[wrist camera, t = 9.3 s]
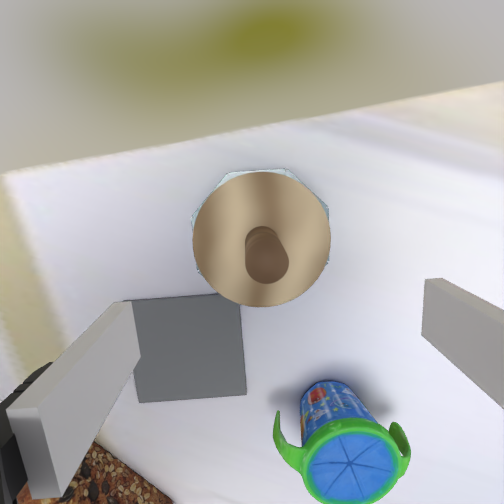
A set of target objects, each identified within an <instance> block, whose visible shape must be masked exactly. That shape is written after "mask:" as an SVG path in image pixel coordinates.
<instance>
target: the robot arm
mask: <svg viewBox="0 0 504 504" xmlns="http://www.w3.org/2000/svg"><path fill="white" fill-rule="evenodd" d="M421 335H422V336H423V337H424V338H425V339H426V340H427V341H428V342H430V343H431V344H432V345H433V346H434V347H435V348H436V349H437V350H438V351H440V352H441V353H442V354H443V355H444V356H445V357H446V358H447V359H448V360H450V361H451V362H452V363H453V364H454V365H455V366H456V367H457V368H458V369H460V370H461V371H462V372H463V373H464V374H465V375H466V376H467V377H468V378H470V379H471V380H472V381H473V382H474V383H475V384H476V385H477V386H478V387H479V388H481V389H482V390H483V391H484V392H485V393H486V394H487V395H488V396H489V397H491V398H492V399H493V400H494V401H495V402H496V403H497V404H498V405H499V406H501V407H502V408H503V409H504V310H502V309H500V308H499V307H497V306H495V305H493V304H491V303H489V302H487V301H485V300H483V299H481V298H479V297H477V296H476V295H474V294H472V293H470V292H468V291H466V290H464V289H462V288H460V287H458V286H456V285H454V284H452V283H451V282H449V281H447V280H445V279H443V278H434V279H425V285H424V300H423V316H422V332H421ZM140 357H141V356H140V350H139V344H138V338H137V332H136V326H135V320H134V315H133V309H132V303H131V301H128V302H115V303H113V304H112V305H111V306H110V307H109V308H108V309H107V310H106V311H105V312H104V313H103V314H102V315H101V316H100V317H99V318H98V319H97V320H96V321H95V322H94V323H93V324H92V325H91V326H90V327H89V328H88V329H87V330H86V331H85V332H84V333H83V334H82V335H81V336H80V337H79V338H78V339H77V340H76V341H75V342H74V343H73V344H72V345H71V346H70V347H69V348H68V349H67V350H66V351H65V352H64V353H63V354H62V355H61V356H60V357H59V358H58V359H57V360H56V361H55V362H49V363H48V364H46V365H44V366H43V367H41V368H39V369H38V370H36V371H34V372H33V373H32V374H31V375H30V376H29V377H28V378H27V379H26V380H25V381H24V382H23V384H20V385H19V386H18V387H17V388H16V389H15V390H14V392H13V393H11V394H10V395H9V396H8V397H7V398H6V399H5V400H4V401H2V402H1V403H0V504H19V503H18V500H17V497H16V496H17V495H18V494H19V492H20V491H21V489H22V488H23V487H24V485H25V484H26V482H27V483H28V486H29V490H30V493H31V496H32V500H33V499H45V498H57V497H62V496H63V494H64V492H65V490H66V489H67V487H68V485H69V483H70V482H71V480H72V478H73V476H74V474H75V473H76V471H77V469H78V467H79V466H80V464H81V462H82V460H83V458H84V457H85V455H86V453H87V451H88V450H89V448H90V446H91V444H92V442H93V441H94V439H95V437H96V435H97V434H98V432H99V430H100V428H101V426H102V425H103V423H104V421H105V419H106V417H107V416H108V414H109V412H110V410H111V409H112V407H113V405H114V403H115V401H116V400H117V398H118V396H119V394H120V393H121V391H122V389H123V387H124V385H125V384H126V382H127V380H128V378H129V377H130V375H131V373H132V371H133V369H134V368H135V366H136V364H137V362H138V361H139V359H140Z"/></svg>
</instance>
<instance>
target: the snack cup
mask: <svg viewBox="0 0 504 504" xmlns="http://www.w3.org/2000/svg"><path fill="white" fill-rule="evenodd" d="M300 416H301V421H300V424H301V440H302V447H296V446H293V445H291V444H288V443H287V442H286V440H285V438H284V436H283V434H282V432H281V430H280V411H279V410H278V411H277V413H276V417H275V422H274V428H273V439H274V442H275V445H276V448H277V449H278V451H279V453H280V454H281V456H282V457H283V459H284V460H285V461H286V462H287V463H288V464H289V465H290V466H291V467H292V468H294V469H295V470H296V471H298V472H299V473H300V474H301V476H302V478H303V481H304V484H305V486H306V488H307V490H308V492H309V493H310V494H311V495H312V496H313V497H314V498H315V499H316V500H318V501H319V502H321V503H323V504H372V503H374V502H376V501H378V500H380V499H381V498H382V497H384V496H385V495H386V494H387V493H388V492H389V491H390V490H391V489H392V488H393V487H394V485H395V484H396V482H397V480H398V479H399V478H400V477H402V476H403V475H404V474H405V471H406V470H407V467H408V465H409V461H410V457H411V449H410V445H409V443H408V440H407V437H406V435H405V433H404V431H403V430H402V428H401V427H400V425H399V424H398V423H396V422H392V423H391V425H390V428H389V432H388V430H387V429H385V428H384V427H383V426H381V425H380V424H378V423H377V421H376V420H375V419H374V418H373V416H372V415H371V414H370V413H369V411H368V410H367V409H366V407H365V406H364V405H363V404H362V402H361V401H360V400H359V399H358V397H357V396H356V395H355V394H354V393H353V392H352V390H351V389H350V388H349V387H348V386H347V385H345V384H344V383H343V384H342V383H338V382H336V381H335V382H332V381H329V382H318V383H316V384H315V385H314V386H313V387H311V388H310V389H309V390H308V391H307V392H306V393H305V395H304V396H303V398H302V400H301V404H300ZM400 452H401V453H402V454H403V456H401V454H400Z"/></svg>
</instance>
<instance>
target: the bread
mask: <svg viewBox="0 0 504 504" xmlns="http://www.w3.org/2000/svg"><path fill="white" fill-rule="evenodd" d="M16 497H17V500H18V503H19V504H173V503H172V501H171V499H170V498H169V497H168V496H166V495H163V494H162V493H161V492H160V491H159V490H158V489H156V488H155V486H153V485H152V484H148V482H147V481H146V480H145V479H144V478H143V477H142V476H138V475H137V473H135V472H134V471H133V470H132V469H130V468H128V467H127V466H126V465H125V464H124V463H122V462H120V460H119V459H113V457H112V456H111V454H110V453H109V452H107V451H105V450H104V449H103V448H102V447H101V446H99V445H98V444H96V443H94V442H92V444H91V446H90V448H89V450H88V451H87V453H86V455H85V457H84V458H83V460H82V462H81V464H80V466H79V467H78V469H77V471H76V473H75V474H74V476H73V478H72V480H71V482H70V483H69V485H68V487H67V489H66V490H65V492H64V494H63V496H62V497H57V498H45V499H33V500H32V496H31V493H30V490H29V486H28V483H27V482H26V484H25V485H24V487H23V488H22V489H21V491H20V492H19V494H18V495H17V496H16Z"/></svg>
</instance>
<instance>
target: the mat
mask: <svg viewBox="0 0 504 504" xmlns="http://www.w3.org/2000/svg"><path fill="white" fill-rule="evenodd" d="M128 301H131V303H132V309H133V315H134V320H135V326H136V332H137V338H138V344H139V350H140V356H141V357H140V359H139V361H138V362H137V364H136V366H135V368H134V369H133V372H134V378H135V383H136V389H137V395H138V400H139V403H147V402H161V401H174V400H187V399H200V398H213V397H226V396H240V395H247V391H246V379H245V367H244V355H243V343H242V331H241V320H240V308H239V304H237V303H236V302H233V301H231V300H229V299H227V298H225V297H224V296H222V295H221V294H208V295H194V296H181V297H167V298H153V299H140V300H126V301H122V302H128Z"/></svg>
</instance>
